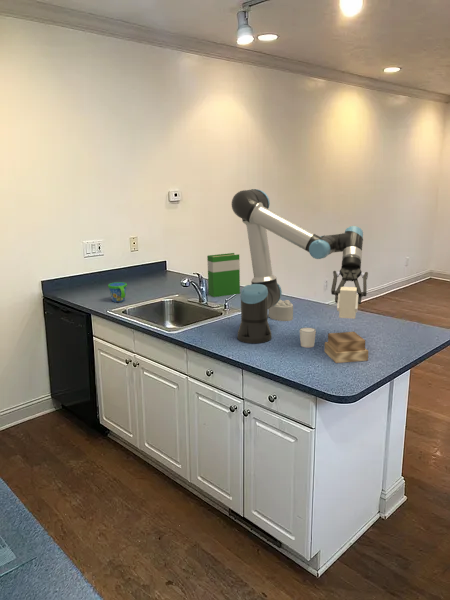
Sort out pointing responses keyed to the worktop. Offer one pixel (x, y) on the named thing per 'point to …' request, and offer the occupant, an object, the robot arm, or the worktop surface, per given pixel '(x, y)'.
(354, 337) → the block tower
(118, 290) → the snack cup
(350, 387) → the worktop surface
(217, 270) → the hardback book
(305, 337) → the shot glass
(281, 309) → the lumpy-topped squat cylinder
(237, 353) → the worktop surface
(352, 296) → the cream brick
